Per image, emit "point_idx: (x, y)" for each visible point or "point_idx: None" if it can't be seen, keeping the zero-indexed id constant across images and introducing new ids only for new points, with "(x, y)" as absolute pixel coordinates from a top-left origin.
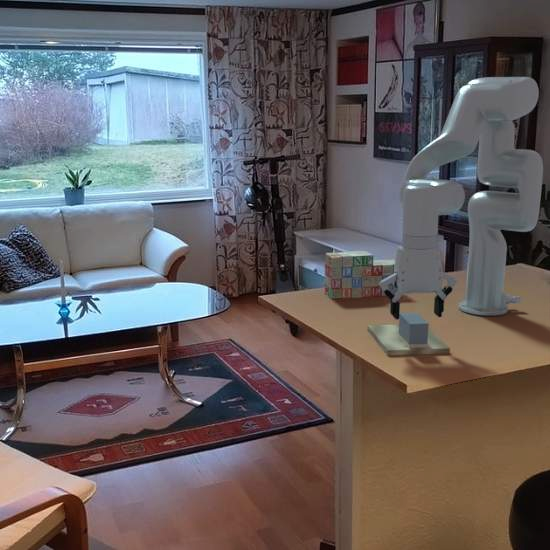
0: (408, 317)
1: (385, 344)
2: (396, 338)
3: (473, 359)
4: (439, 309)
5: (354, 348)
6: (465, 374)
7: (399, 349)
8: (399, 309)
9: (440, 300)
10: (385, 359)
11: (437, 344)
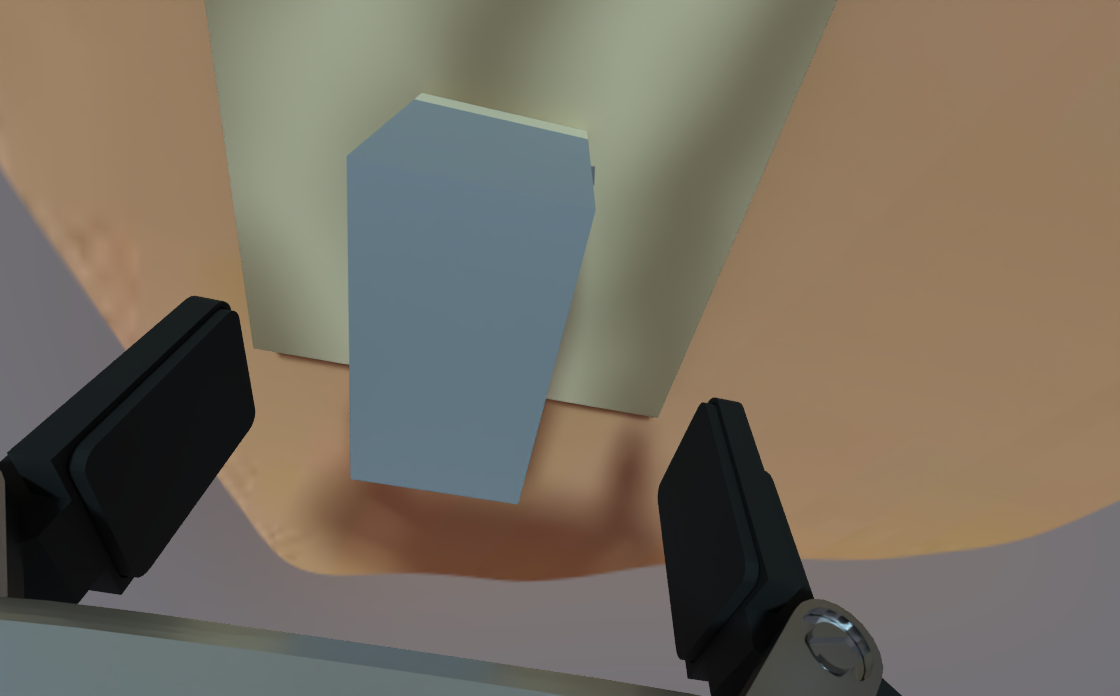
0: (408, 327)
1: (257, 247)
2: None
3: None
4: (672, 562)
5: (27, 130)
6: (556, 573)
7: (336, 353)
8: (192, 507)
9: (692, 676)
10: None
11: (627, 349)
